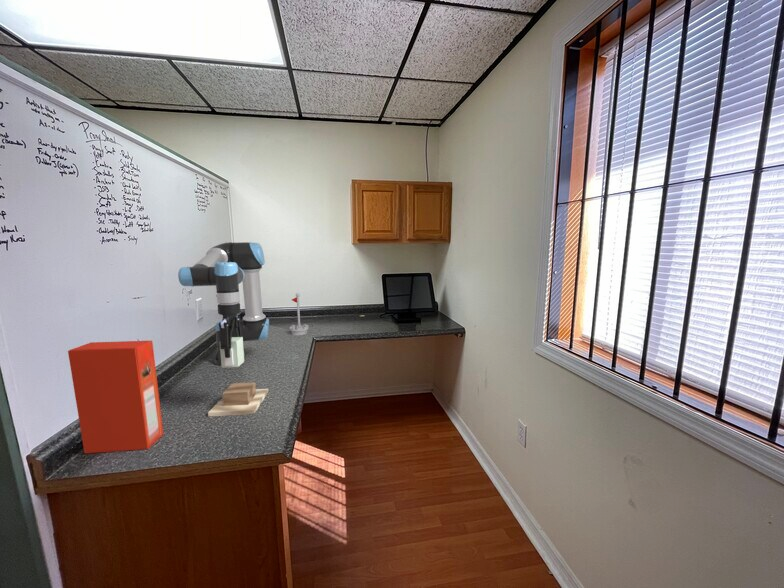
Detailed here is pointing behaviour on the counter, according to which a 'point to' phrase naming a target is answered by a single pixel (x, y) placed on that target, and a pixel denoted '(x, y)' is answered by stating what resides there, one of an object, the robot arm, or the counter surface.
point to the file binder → (116, 395)
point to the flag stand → (298, 329)
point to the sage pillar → (234, 352)
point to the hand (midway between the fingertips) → (233, 361)
